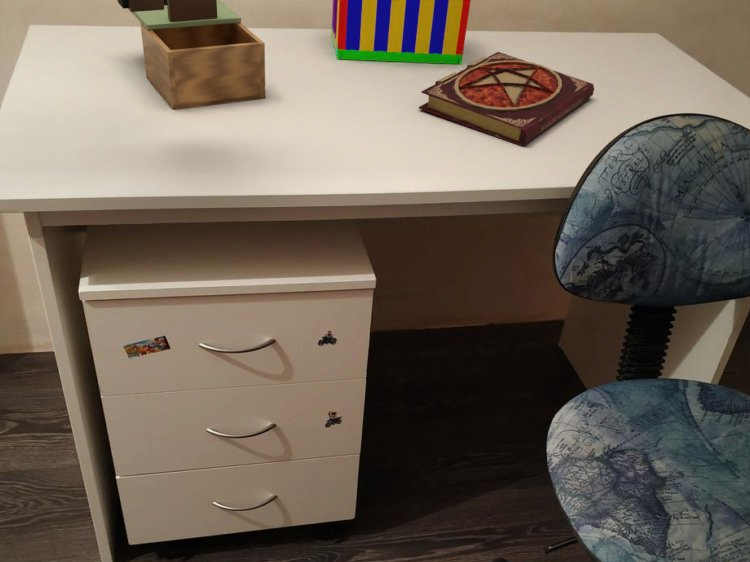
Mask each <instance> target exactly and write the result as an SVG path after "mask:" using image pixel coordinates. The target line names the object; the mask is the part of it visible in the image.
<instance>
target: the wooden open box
mask: <svg viewBox="0 0 750 562" xmlns="http://www.w3.org/2000/svg"><path fill="white" fill-rule="evenodd" d="M139 24H140V33H141V43H142V50H143V59H144V69H145V78H146V79H147V80H148V82H149V83H150V84H151V85H152V86H153V88H154V89H155V91H157V92H158V94H159V95H160V96H161V97H162V98H163V100H164V101H165V102H166V103H167V104H168V105H169V107H170V108H171V110H180V109H189V108H196V107H203V106H205V107H206V106H213V105H220V104H228V103H235V102H236V103H237V102H244V101H253V100H260V99H266V45H265V44H266V43H265V42H264V41H263V40H261V39H260V38H259V36H257V35H255V34H254V33H253V32H252V31H251V30H250V29H249V28H247V26H246V25H244V24H243V23H242V22H240V23H228V24H216V25H203V26H191V27H178V28H166V29H153V30H147V29H146V28H145V27H144V26H143V24H142V23H141V22H139Z"/></svg>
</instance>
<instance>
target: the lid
mask: <svg viewBox="0 0 750 562" xmlns="http://www.w3.org/2000/svg"><path fill="white" fill-rule="evenodd" d="M167 3H168V5H166V6H164V10H154V11H141V12H130V13H131V14H132V15H133V16H134V17H135V18H136V19H137V20H138V21H139V23H142V24H143V26H144V27H145V28H146V29H147V30H153V29H166V28H178V27H191V26H203V25H216V24H228V23H242V17H241V16H240V15H238V14H237V13H236V12H235V11H234V10H233V9H232V8H230V7H229V6H227V4H225V3H224V2H223V1H222V0H167Z"/></svg>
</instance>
